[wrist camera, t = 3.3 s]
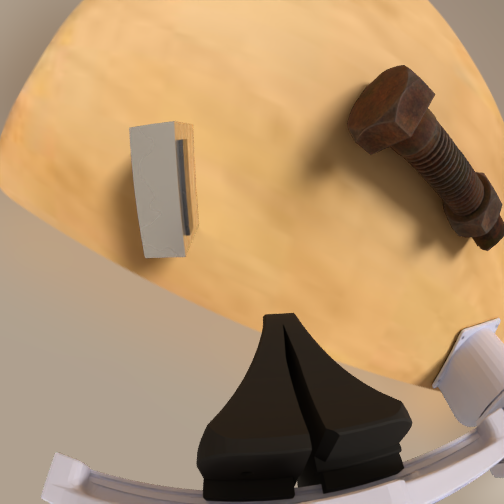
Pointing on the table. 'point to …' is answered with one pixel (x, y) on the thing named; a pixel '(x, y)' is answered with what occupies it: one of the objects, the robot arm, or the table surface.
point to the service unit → (165, 187)
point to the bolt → (427, 151)
